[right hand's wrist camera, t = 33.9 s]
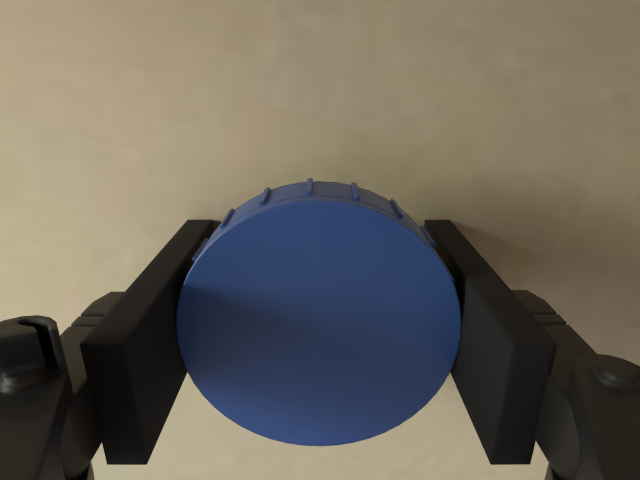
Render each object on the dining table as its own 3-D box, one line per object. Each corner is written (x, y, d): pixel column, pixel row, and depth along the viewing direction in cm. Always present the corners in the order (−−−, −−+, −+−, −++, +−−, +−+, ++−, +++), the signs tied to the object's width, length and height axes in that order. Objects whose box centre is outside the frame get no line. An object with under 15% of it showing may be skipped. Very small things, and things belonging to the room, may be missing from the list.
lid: (484, 339, 12) (509, 379, 11) (280, 434, 13) (274, 483, 12) (370, 125, 10) (379, 136, 9) (141, 261, 11) (111, 292, 10)
